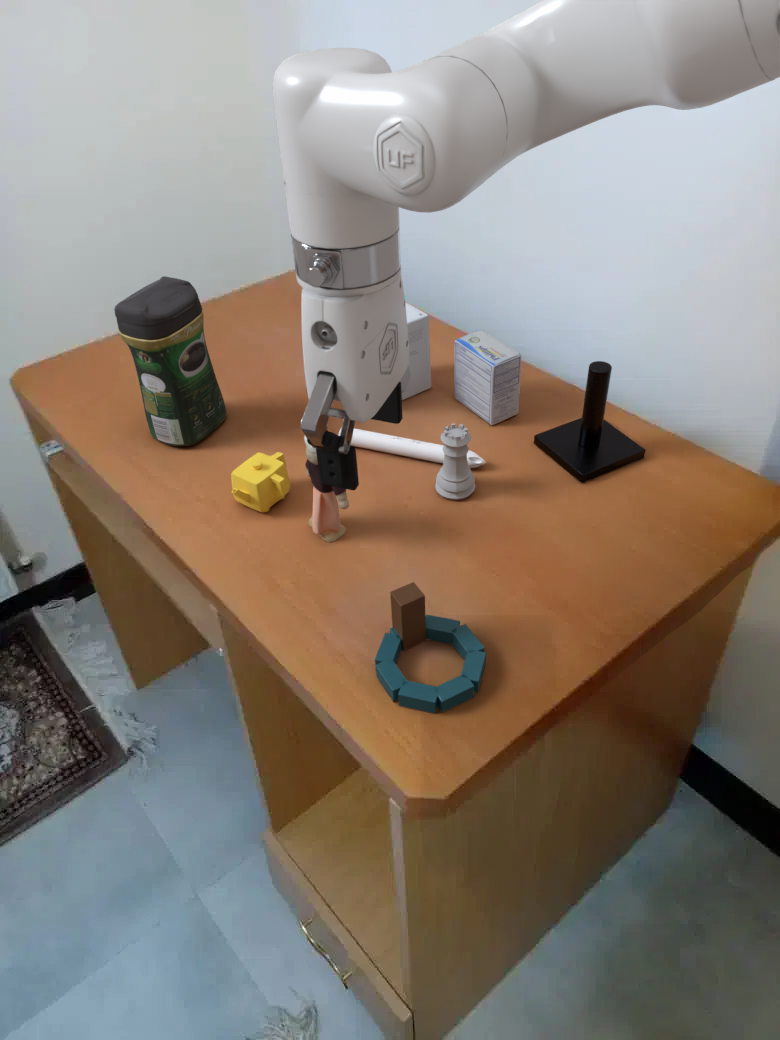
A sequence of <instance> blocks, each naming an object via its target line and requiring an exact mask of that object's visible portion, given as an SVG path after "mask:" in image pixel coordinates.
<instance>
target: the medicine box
mask: <svg viewBox="0 0 780 1040" xmlns="http://www.w3.org/2000/svg"><path fill="white" fill-rule="evenodd" d="M521 370H522V354H521V353H520V352H518V351H517V350H515V349H513V347H510V346H509V345H507V344H506V343H504V342H502V341H501V340H500V339H497V338H496V337H495V336H493V335H491V334H489V333H488V332H486V331H485V330H483V329H481V330H478V331H474V332H472V333H469V334H466V335H464V336H461V337H459V338H457V339H455V340H454V382H453V383H454V387H453V389H454V399H455V400H456V401H458V402H459V403H460V404H462V405H463V406H465V407H466V408H468V409H469V410H470V411H472V412H473V413H474V414H476V416H478V417H480V418H481V419H482V420H483V421H485V422H486V423H488V424H489V425H490V426H494V425H496V424H499V423H502V422H504V421H506V420H508V419H509V418H512V417H515V416H517V415H519V408H520V407H519V406H520V390H521V389H520V388H521V372H522V371H521Z"/></svg>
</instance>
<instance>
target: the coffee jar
mask: <svg viewBox="0 0 780 1040" xmlns="http://www.w3.org/2000/svg"><path fill="white" fill-rule="evenodd" d="M113 310H114V316H115V318H116V323H117V330H118V333H119V335H120V337H121V340H122V341H123V342H124V343H125V344H126V346H127V347H128V348H129V351H130V353H131V354H130V355H131V356H132V359H133V363H134V367H135V371H136V375H137V380H138V384H139V388H140V393H141V399H142V403H143V408H144V409H143V410H144V414H145V419H146V423H147V426H148V430H149V433H150V435H151V437H152V438H153V439H155V440H156V441H158V442H159V443H162V444H164V445H167V446H170V447H188V446H189V447H191V446H193V445H196V444H197V443H200V442H201V441H202V440H203V439H205V438H206V437H207V436H209V435H211V433H212V432H214V431H215V430H216V429H217V428H218V427H219V426H220V425H222V423H223V422H224V420H225V419H226V416H227V407H226V404H225V400H224V397H223V393H222V391H221V387H220V384H219V383H218V379H217V376H216V374H215V373H216V372H215V369H214V366H213V363H212V360H211V356H210V353H209V350H208V346H207V341H206V337H205V336H206V335H205V330H204V309H203V306H202V303H201V301H200V298H199V294H198V292H197V290H196V289H195V286H193V284H192V283H191V282H189V281H188V280H185V279H181V278H176V277H171V276H165V275H163V276H161V277H160V278H159V279H157V280H155V281H153V282H151V283H149V284H147V285H145V286H144V287H142V288H140V289H139V290H137V291H135V292H134V293H132V294H130V295H129V296H127V297H125V298H124V299H123V300H121V301H119V302H118V303H117V304H116V305H115V306H114V309H113Z"/></svg>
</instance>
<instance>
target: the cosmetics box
mask: <svg viewBox="0 0 780 1040" xmlns="http://www.w3.org/2000/svg"><path fill="white" fill-rule="evenodd" d="M405 306H406V316H407V328H408V341H409V364H408V367H407V370H406V372H405V373H404V375H403V377H402V378H401V380H400V381H399V382H401V391H402V401H405V400H406V399H409V398H411V397H413V396H415V395H417V394H419V393H423V392H425V391H427V390H429V389H431V388H432V374H431V373H432V372H431V348H430V347H431V345H430V314H428V313H426V312H424V311H423V310H421V309H419V308H417V307H416V306H413V305H412V304H410V303H408V302H406V301H405Z"/></svg>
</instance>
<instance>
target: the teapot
mask: <svg viewBox="0 0 780 1040" xmlns="http://www.w3.org/2000/svg"><path fill="white" fill-rule="evenodd" d="M285 459H286V458H285V454H284V453H283V452H280V451H277V452H274V454H272V455H268V454H265V453H262V452H259V451H258V452H256V453H255V454H253V455H252V456H250V457H248V458H247V459H246V460H245V461H243V462H242V463H241V464H240V465H238V466H237V467H236V468H235V469H234V470H233V471H232V472H231V473H230V479H231V488H232V490H231V491H230V493H231V494H232V495H233V497H234V500H235V501H236V502H237V503H239V504H242V505H243V506H245V507H248V508H249V509H252V510H255V511H257V512H259V513H268V512H269V511H270V508H271V507H273V505H275V504H276V503H278V502H279V501H281V500H283V499H285V496H286V495H287V494H288V493H289V491H290V490H291V481H290V477H289V473H288V469H287V464H286V460H285Z"/></svg>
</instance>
